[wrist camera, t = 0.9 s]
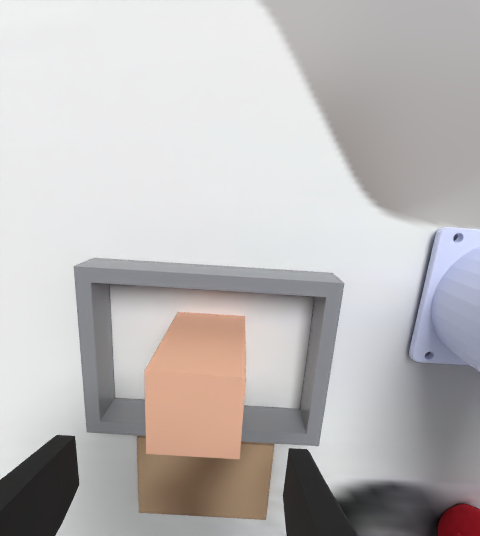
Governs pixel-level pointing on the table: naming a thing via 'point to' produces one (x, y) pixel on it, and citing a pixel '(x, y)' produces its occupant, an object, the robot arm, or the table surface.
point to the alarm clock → (460, 521)
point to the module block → (197, 388)
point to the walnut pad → (206, 483)
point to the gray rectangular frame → (207, 278)
